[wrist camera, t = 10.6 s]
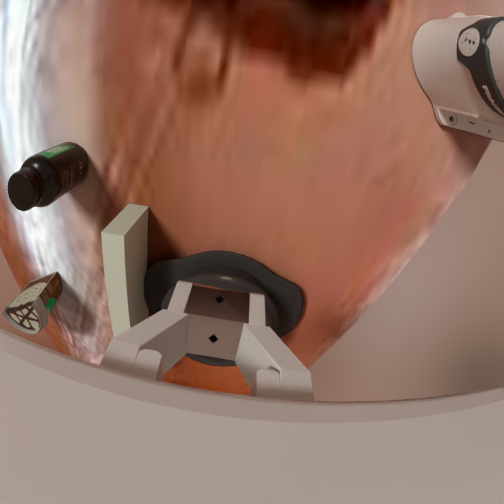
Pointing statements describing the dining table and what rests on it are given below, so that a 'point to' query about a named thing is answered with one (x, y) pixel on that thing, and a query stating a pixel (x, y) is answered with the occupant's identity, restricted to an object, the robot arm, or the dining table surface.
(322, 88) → the dining table surface
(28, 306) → the food container
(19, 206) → the supplement bottle
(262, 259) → the dining table surface
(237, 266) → the casserole
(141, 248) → the board
